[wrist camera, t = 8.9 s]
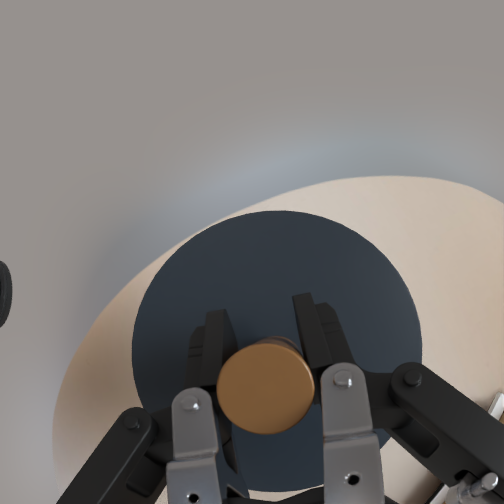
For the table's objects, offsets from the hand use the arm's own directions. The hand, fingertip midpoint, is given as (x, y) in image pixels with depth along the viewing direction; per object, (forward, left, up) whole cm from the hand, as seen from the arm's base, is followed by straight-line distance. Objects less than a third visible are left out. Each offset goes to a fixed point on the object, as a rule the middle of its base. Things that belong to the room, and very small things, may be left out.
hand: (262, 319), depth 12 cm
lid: (0, -2, -4) cm, 4 cm away
